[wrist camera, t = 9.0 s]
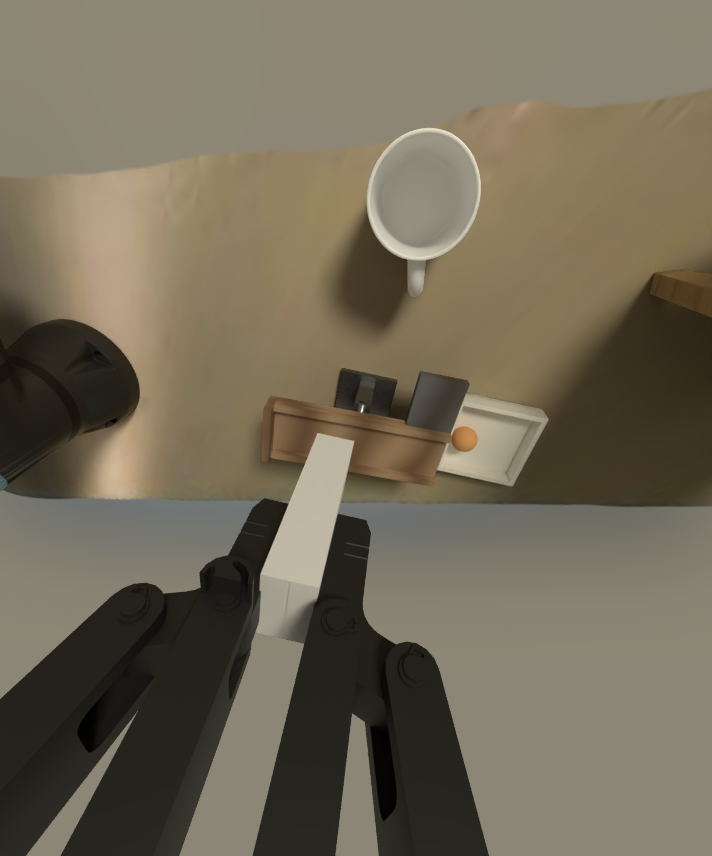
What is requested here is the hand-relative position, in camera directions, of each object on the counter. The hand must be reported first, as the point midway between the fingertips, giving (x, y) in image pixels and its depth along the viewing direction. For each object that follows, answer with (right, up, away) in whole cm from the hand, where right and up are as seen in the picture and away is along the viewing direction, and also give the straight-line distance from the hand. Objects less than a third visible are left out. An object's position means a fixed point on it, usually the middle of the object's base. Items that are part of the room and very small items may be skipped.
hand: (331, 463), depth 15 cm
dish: (+18, +1, +33) cm, 37 cm away
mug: (+7, +22, +22) cm, 32 cm away
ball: (+15, 0, +31) cm, 34 cm away
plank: (+1, +3, +25) cm, 26 cm away
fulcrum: (+2, +4, +33) cm, 33 cm away
